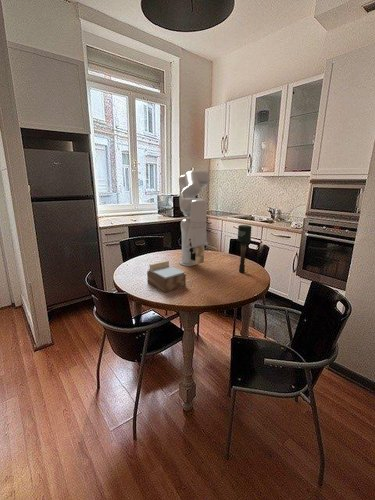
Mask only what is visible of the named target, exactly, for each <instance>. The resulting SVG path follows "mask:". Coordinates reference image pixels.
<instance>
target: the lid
mask: <svg viewBox="0 0 375 500" xmlns="http://www.w3.org/2000/svg"><path fill="white" fill-rule="evenodd" d="M147 271H150V272H152V273H154V274H156V275H158V276H160V277H162V278H164V279H168V278H172V277H175V276H179V275H182V274H185V271H183V270H182V269H178V268H176V267H173V266H171V265H170V261H169V260H168V259H166V260H161V261H157V262H153V263H149V268H148V270H147Z"/></svg>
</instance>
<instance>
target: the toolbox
mask: <svg viewBox="0 0 375 500" xmlns="http://www.w3.org/2000/svg"><path fill="white" fill-rule="evenodd" d="M146 273H147V274H146V277H147V284H149V285H151V286H152V287H153V288H156V289H157V290H159V291H161V292H162V293H164V294H166V293H169V292H172V291H174V290H178V289H181V288H183V287H186V282H187V281H186V279H187V278H186V277H187V276H186V275H187V274H186V273H184V274H182V275H179V276H175V277H172V278H168V279H164V278H162V277H160V276H158V275H156V274H154V273H152V272H150V271H148V270H147V272H146Z"/></svg>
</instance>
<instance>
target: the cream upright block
mask: <svg viewBox="0 0 375 500" xmlns="http://www.w3.org/2000/svg"><path fill="white" fill-rule="evenodd" d="M192 250H193V249H192ZM190 262H192V263H194V264H196V265H200V264H203V263H205V251H204V246H200V247H196V248H195V261H193V260H191V252H190Z"/></svg>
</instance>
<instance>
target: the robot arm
mask: <svg viewBox="0 0 375 500" xmlns="http://www.w3.org/2000/svg"><path fill="white" fill-rule="evenodd" d="M209 183H210V174H209V172H207V171H206V170H188V171H187V172H186V173H185V174H182V175H180V176H179V178H178V185H179V189H180V193H179V199H178V200H179V210H180V211H181V212H182V213H183V216H184V217H190V218H184V219H182V220H181V221H180V231H181V260H180V261H179V265H181V266H184V267H193V266H197V264H194V263H192V262H190V252H191V260H193V261H195V248H196V247H200V246H204V252H205V251H206V249H207V247H208V245H209V241H208V237H207V236H208V235H207V214H208V212H207V210H208V202H207V201H206V199H205V198H202V197H201V198H200V197H196V196H198V195H199V194H200V193H201V191H202V190H203V189H206V188H207V186H208V185H209ZM192 249H193V250H192Z"/></svg>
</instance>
